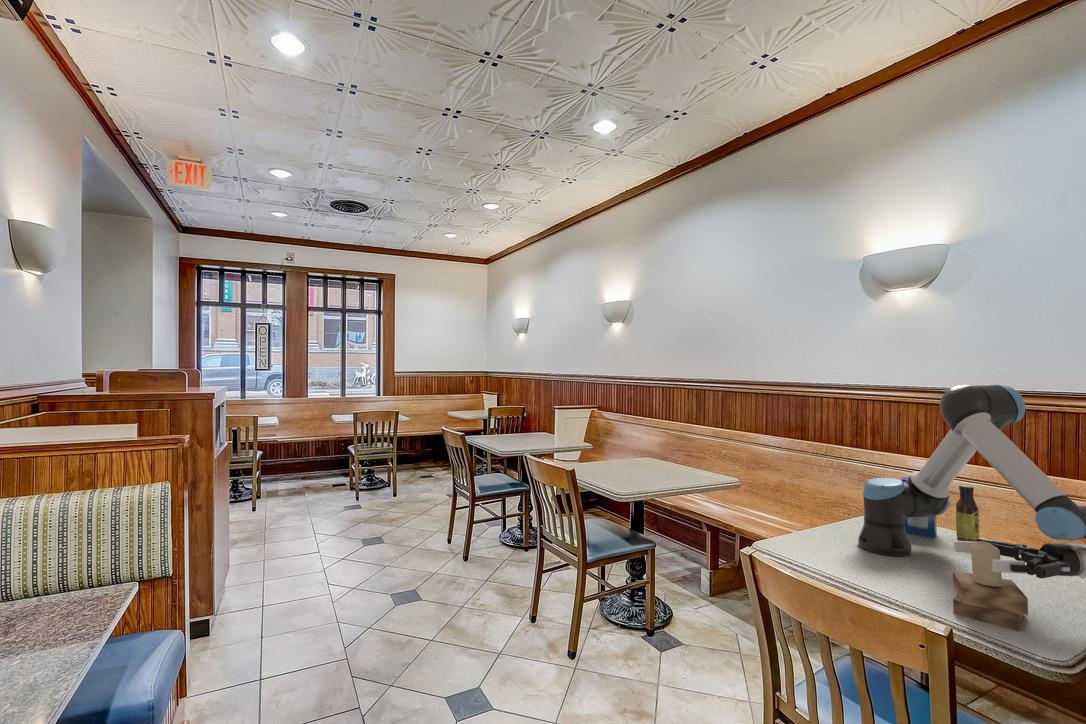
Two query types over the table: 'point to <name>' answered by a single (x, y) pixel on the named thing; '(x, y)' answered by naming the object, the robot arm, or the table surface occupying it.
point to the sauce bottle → (967, 515)
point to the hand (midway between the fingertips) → (972, 555)
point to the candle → (985, 564)
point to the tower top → (990, 594)
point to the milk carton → (920, 524)
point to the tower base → (988, 615)
